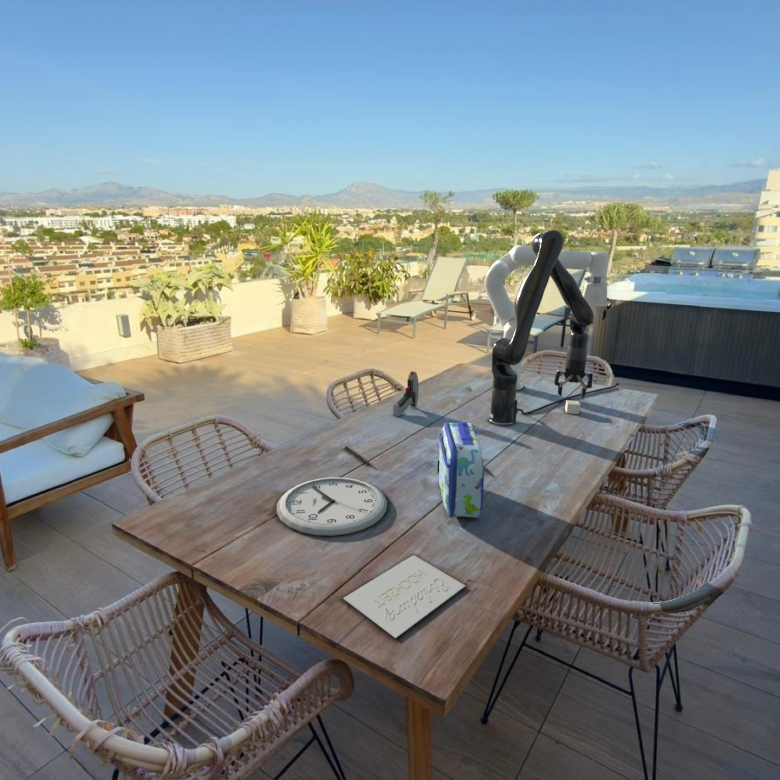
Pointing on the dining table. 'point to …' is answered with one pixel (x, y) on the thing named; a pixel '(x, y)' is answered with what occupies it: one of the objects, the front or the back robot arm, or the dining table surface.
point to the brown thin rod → (357, 455)
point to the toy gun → (408, 395)
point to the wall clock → (331, 506)
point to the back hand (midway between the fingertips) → (591, 319)
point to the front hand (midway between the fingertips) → (571, 396)
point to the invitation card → (404, 595)
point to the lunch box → (461, 470)
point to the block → (572, 407)
